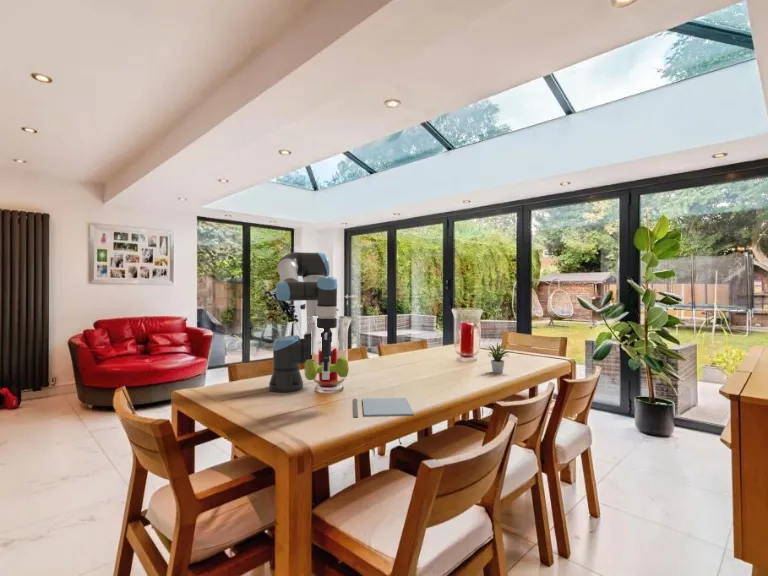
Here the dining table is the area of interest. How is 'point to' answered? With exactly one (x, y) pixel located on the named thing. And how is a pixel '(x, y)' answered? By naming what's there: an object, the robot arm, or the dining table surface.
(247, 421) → the dining table surface
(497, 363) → the house plant
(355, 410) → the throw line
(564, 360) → the dining table surface
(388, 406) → the mat
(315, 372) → the dumbbell
